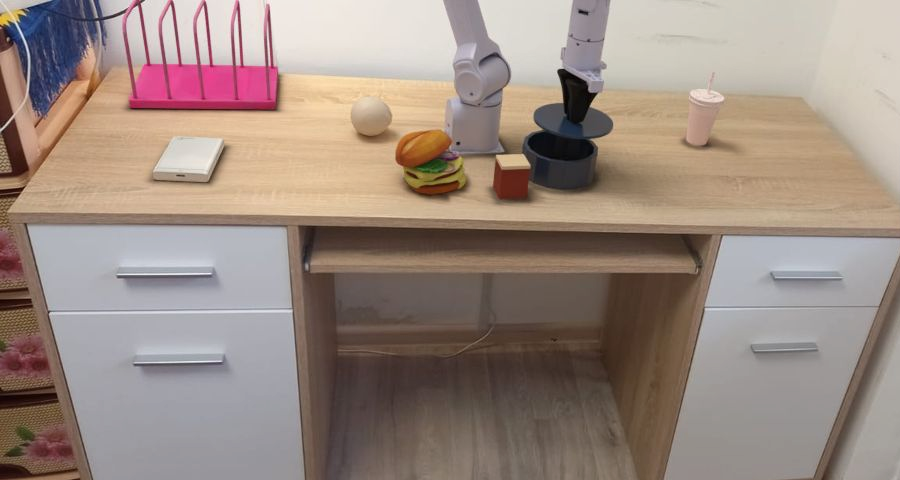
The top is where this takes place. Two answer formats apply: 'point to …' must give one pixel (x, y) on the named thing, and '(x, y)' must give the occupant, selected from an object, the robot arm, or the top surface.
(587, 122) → the pot lid
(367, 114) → the cream ball
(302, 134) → the top surface
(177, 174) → the hard drive
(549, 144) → the pot
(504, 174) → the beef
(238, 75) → the file sorter
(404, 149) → the cheeseburger
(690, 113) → the smoothie
